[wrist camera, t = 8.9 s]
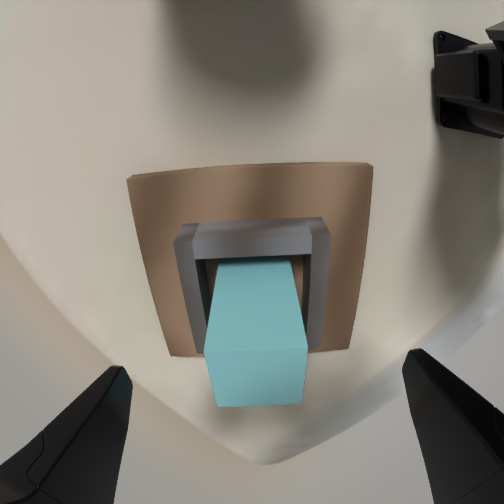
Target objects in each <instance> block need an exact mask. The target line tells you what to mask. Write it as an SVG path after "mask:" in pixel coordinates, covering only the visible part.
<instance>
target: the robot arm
mask: <svg viewBox="0 0 504 504" xmlns="http://www.w3.org/2000/svg"><path fill="white" fill-rule="evenodd" d="M485 31H486V33H487V35H488V36H489V38H490V40H492V41H493V43H488V44H477V43H475V42H472V41H470V40H467V39H464V38H462V37H459V36H456V35H453V34H450V33H447V32H444V31H437V32H435V33H434V45H435V77H436V94H437V115H436V119H437V122H438V124H439V125H440V126H442V127H447V128H452V129H458V130H463V131H468V132H473V133H478V134H483V135H487V136H492V137H496V138H500V139H502V138H503V137H504V21H503V22H501V23H498V24H496V25H494V26H492V27H489V28H487V29H485ZM440 36H442V38H443V41H442V40H441V38H440ZM444 116H445V119H446V120H445V122H443V117H444ZM402 374H403V378H404V383H405V388H406V393H407V398H408V403H409V408H410V413H411V416H412V420H413V423H414V426H415V429H416V433H417V436H418V440H419V444H420V447H421V451H422V455H423V458H424V462H425V466H426V470H427V474H428V478H429V483H430V487H431V491H432V496H433V501H434V504H504V414H503V413H502V412H501V411H500V410H498V409H497V408H496V407H495V408H494V406H493V405H492V404H491V403H490V402H489V401H487V400H486V399H485V398H484V397H482V396H481V395H480V394H478V393H477V392H476V391H475V390H474V389H472V388H471V387H470V386H469V385H467V384H466V383H465V382H464V381H462V380H461V379H460V378H458V377H457V376H456V375H455V374H454V373H452V372H451V371H450V370H449V369H447V368H446V367H445V366H443V365H442V364H441V363H440V362H438V361H437V360H436V359H434V358H433V357H432V356H431V355H429V354H428V353H427V352H425V351H424V350H423V349H421V348H418V349H413V350H410V351H409V352H408V354H407V356H406V359H405V362H404V364H403V368H402ZM132 389H133V385H132V381H131V379H130V377H129V375H128V374H127V372H126V370H125V368H124V367H123V366H115V365H113V366H111V367H109V368H108V369H107V370H106V371H105V372H104V373H103V374H102V375H101V376H100V377H98V378H97V380H95V381H94V382H93V383H92V384H91V385H90V386H89V387H88V388H87V389H86V390H84V391H83V392H82V393H81V394H80V395H79V396H78V397H77V398H76V399H75V400H74V401H73V402H72V403H71V404H70V405H69V406H68V407H66V408H65V409H64V410H63V411H62V412H61V413H60V414H59V415H58V416H57V417H56V418H55V419H54V420H53V421H52V422H51V423H49V424H48V425H47V426H46V427H45V428H44V430H42V431H41V432H40V433H39V434H38V435H37V436H36V437H35V438H33V439H32V440H31V441H30V442H29V443H28V444H27V445H26V446H24V447H23V448H22V449H21V450H19V451H18V452H17V453H16V454H14V455H13V456H12V457H11V458H9V459H8V460H6V461H5V462H4V463H3V464H2V465H0V504H113V503H114V497H115V491H116V485H117V480H118V474H119V469H120V464H121V459H122V453H123V449H124V444H125V440H126V434H127V430H128V424H129V415H130V406H131V397H132Z"/></svg>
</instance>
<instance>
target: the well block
mask: <svg viewBox="0 0 504 504" xmlns="http://www.w3.org/2000/svg"><path fill="white" fill-rule="evenodd" d="M372 179H373V166H371V165H370V164H368V163H350V162H303V163H268V164H247V165H231V166H216V167H204V168H193V169H182V170H173V171H164V172H155V173H147V174H139V175H132V176H131V177H130V178H128V179H127V185H128V191H129V197H130V202H131V207H132V212H133V217H134V222H135V227H136V231H137V236H138V240H139V245H140V249H141V254H142V258H143V262H144V266H145V270H146V274H147V278H148V282H149V285H150V289H151V293H152V296H153V300H154V304H155V307H156V311H157V314H158V317H159V321H160V324H161V327H162V331H163V334H164V337H165V340H166V343H167V347H168V350H169V353H170V356H180V357H205V355H204V346H205V340H206V334H207V328H208V321H209V316H210V310H211V304H212V298H213V292H214V287H215V281H216V275H217V270H218V264H219V259H220V258H233V257H254V256H275V255H289V259H290V264H291V268H292V273H293V277H294V282H295V287H296V291H297V296H298V301H299V305H300V310H301V315H302V320H303V325H304V330H305V335H306V340H307V345H308V352H307V353H309V352H320V351H331V350H340V349H349V344H350V339H351V335H352V330H353V325H354V320H355V314H356V309H357V303H358V297H359V292H360V285H361V279H362V272H363V266H364V258H365V251H366V243H367V234H368V225H369V216H370V205H371V193H372Z"/></svg>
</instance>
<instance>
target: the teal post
mask: <svg viewBox="0 0 504 504" xmlns="http://www.w3.org/2000/svg"><path fill="white" fill-rule="evenodd" d="M307 352H308V345H307V340H306V335H305V330H304V325H303V320H302V315H301V310H300V305H299V301H298V296H297V291H296V287H295V282H294V277H293V273H292V268H291V264H290V259H289V255H275V256H254V257H233V258H220V259H219V264H218V270H217V275H216V281H215V287H214V292H213V298H212V304H211V310H210V316H209V321H208V328H207V334H206V340H205V346H204V355H205V359H206V364H207V368H208V372H209V376H210V380H211V384H212V388H213V392H214V396H215V400H216V404H217V407H254V406H276V405H291V404H302V398H303V389H304V381H305V372H306V362H307Z"/></svg>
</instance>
